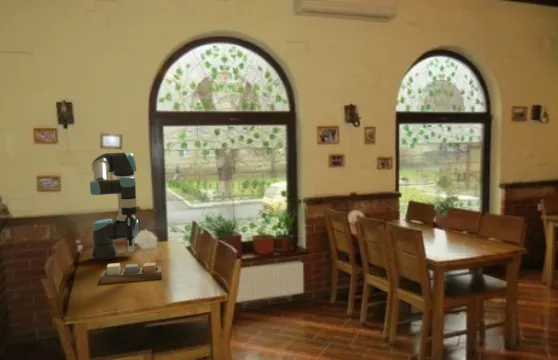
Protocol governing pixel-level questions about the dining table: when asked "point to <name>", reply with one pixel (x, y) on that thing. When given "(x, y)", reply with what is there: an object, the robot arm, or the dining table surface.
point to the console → (131, 276)
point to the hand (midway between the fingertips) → (131, 251)
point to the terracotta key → (149, 267)
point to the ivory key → (113, 269)
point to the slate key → (131, 268)
